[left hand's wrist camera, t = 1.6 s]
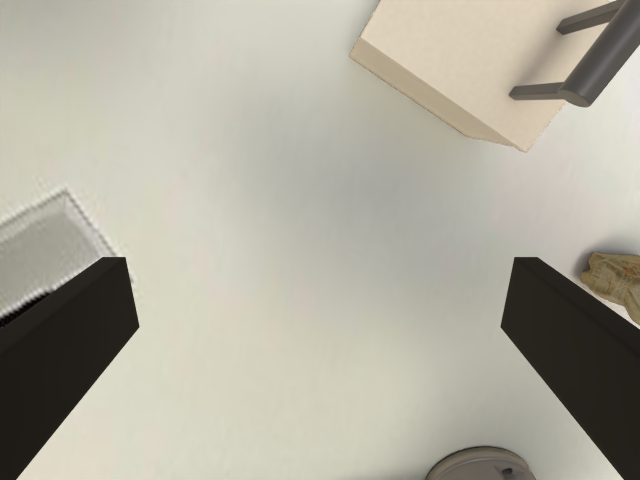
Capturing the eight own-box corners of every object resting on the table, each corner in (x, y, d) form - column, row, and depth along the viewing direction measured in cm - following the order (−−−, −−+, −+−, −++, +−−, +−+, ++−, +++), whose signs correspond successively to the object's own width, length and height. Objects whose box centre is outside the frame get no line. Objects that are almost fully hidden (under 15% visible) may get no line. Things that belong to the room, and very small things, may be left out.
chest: (536, 40, 33) (613, 17, 24) (467, 137, 36) (513, 147, 27) (411, -56, 30) (447, -119, 22) (348, 56, 33) (358, 39, 25)
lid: (619, 22, 24) (765, -18, 16) (519, 151, 27) (602, 170, 19) (447, -120, 22) (522, -250, 14) (358, 39, 25) (376, 8, 17)
